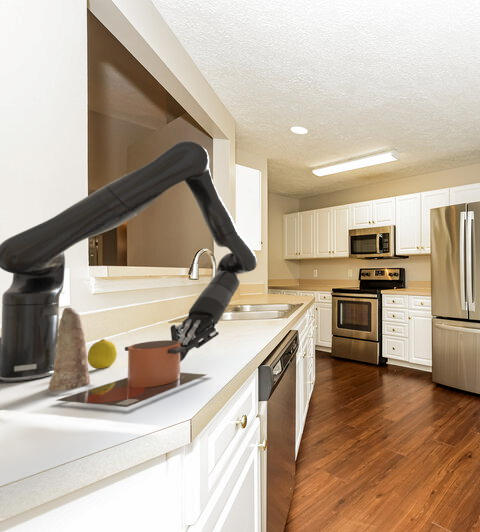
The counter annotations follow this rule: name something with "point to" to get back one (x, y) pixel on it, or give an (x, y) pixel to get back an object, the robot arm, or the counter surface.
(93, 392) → the hob
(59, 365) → the tapered standing stone
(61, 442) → the counter surface
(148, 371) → the pot
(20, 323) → the robot arm
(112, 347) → the lemon
